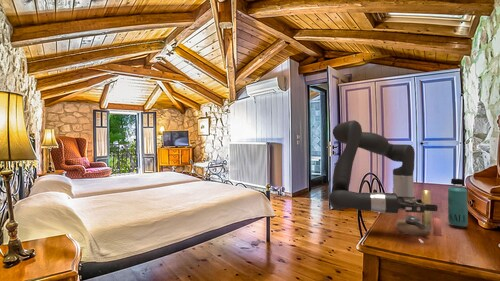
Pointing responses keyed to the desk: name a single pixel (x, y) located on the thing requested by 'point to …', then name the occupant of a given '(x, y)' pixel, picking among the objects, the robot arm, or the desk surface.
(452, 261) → the desk surface
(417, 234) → the crank plinth
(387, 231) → the desk surface
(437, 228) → the post
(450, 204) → the beverage bottle
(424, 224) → the crank
